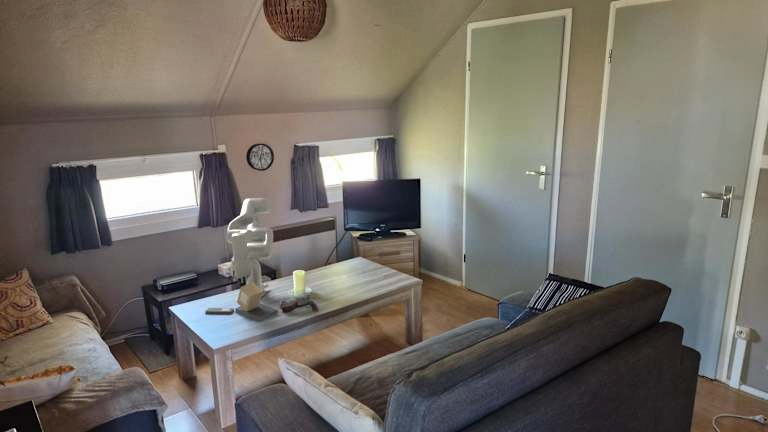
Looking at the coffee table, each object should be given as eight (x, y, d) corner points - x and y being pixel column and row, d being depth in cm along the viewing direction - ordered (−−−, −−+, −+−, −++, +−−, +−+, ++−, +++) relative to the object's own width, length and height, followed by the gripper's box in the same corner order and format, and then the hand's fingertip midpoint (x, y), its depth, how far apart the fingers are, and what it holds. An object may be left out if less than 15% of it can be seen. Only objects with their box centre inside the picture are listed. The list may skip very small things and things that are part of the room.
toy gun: (283, 316, 265) (279, 299, 262) (319, 308, 266) (315, 291, 263) (282, 319, 260) (278, 303, 258) (319, 311, 261) (314, 294, 259)
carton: (248, 297, 267) (253, 282, 261) (258, 306, 263) (262, 291, 258) (236, 302, 260) (240, 287, 255) (246, 311, 257) (250, 296, 252)
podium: (253, 304, 271) (253, 300, 271) (277, 313, 260) (277, 309, 259) (235, 312, 262) (235, 308, 262) (260, 322, 251) (259, 317, 250)
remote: (205, 314, 261) (205, 310, 261) (209, 311, 266) (208, 307, 265) (230, 315, 260) (230, 311, 260) (234, 311, 264) (233, 308, 264)
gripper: (247, 251, 264) (250, 283, 268) (224, 258, 253) (227, 291, 257) (256, 253, 260) (259, 286, 264) (233, 261, 248) (236, 294, 252)
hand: (243, 288), depth 260 cm, fingers closed
